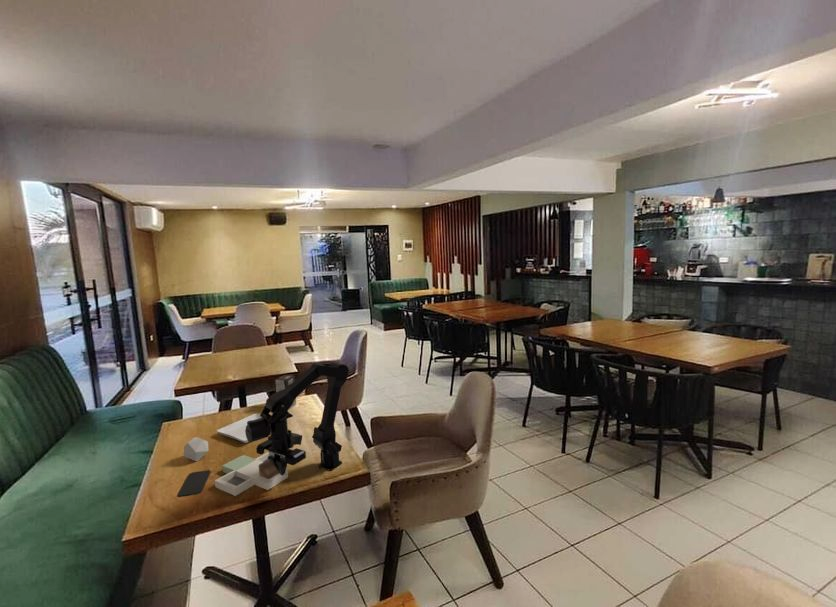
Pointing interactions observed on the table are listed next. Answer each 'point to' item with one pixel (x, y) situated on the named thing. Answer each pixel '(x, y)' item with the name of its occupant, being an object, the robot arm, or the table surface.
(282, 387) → the coffee box
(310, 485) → the table surface
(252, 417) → the salad plate
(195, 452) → the die
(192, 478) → the phone
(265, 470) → the walnut block
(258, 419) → the robot arm
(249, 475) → the box
